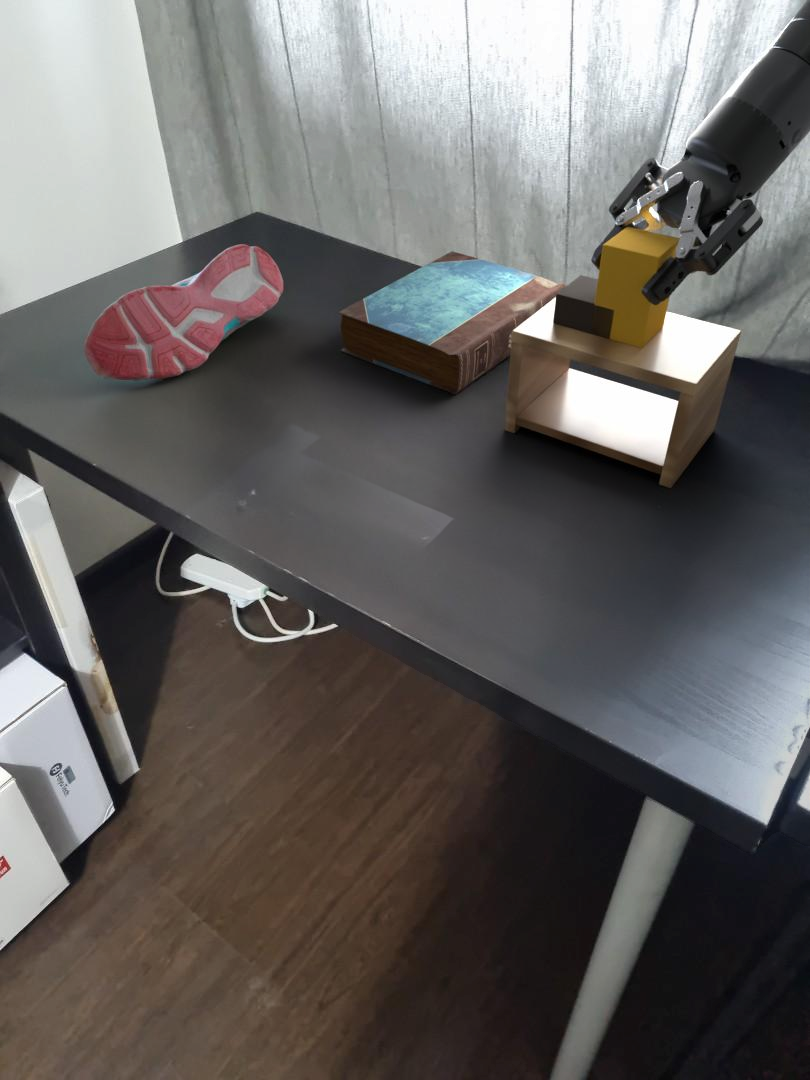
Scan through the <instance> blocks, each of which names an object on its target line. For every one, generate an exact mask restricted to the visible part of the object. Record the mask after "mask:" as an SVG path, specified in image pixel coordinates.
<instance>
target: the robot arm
mask: <svg viewBox="0 0 810 1080" xmlns="http://www.w3.org/2000/svg"><path fill="white" fill-rule="evenodd" d="M809 133H810V0H805V1H804V3H803V5H802V6H801V8H800V9H799V10H798V11H797V12H796V14H795V15H794V16H793V18H792V19H791V20H790V22H788V24H787V25H786V26H785V27H784V29H783V30H782V31H781V32H780V33H779V35H777V37H776V38H775V39H774V41H773V42H772V43H770V45H769V46H768V48H767V49H766V50H765V51H764V52H763V53H762V55H760V57H758V59H757V60H756V61H754V62H753V64H751V65H750V66H749V67H748V68H747V69H746V70H745V71H744V72H743V73H742V74H741V75H740V76H739V77H738V79H737V80H736V81H735V82H734V83H733V85H732V86H731V87H730V88H729V89H728V90H727V92H726V93H725V94H724V95H723V97H722V98H721V99H719V101H718V102H717V104H716V105H715V106H714V107H713V109H711V111H710V112H709V113H708V115H707V116H706V117H705V118H704V120H702V121H701V123H700V124H699V125H698V126H697V128H696V129H695V130H694V131H693V132H692V133H691V135H690V136H689V137H688V138H687V140H686V144H685V150H684V154H683V157H682V158H681V159H680V160H679V161H677V162H676V163H674V164H673V165H672V166H670V167H669V168H667V167H665V166H662V165H660V164H659V162H658V160H657V159H656V158H655V157H649V158H647V159H646V160H645V161H644V162H643V164H642V165H641V166H640V167H639V169H637V171H636V173H635V174H634V175H633V176H632V177H631V179H630V180H629V182H628V183H627V184H626V185H625V186H624V188H623V189H622V190H621V192H620V193H619V194H618V195H617V196H616V198H615V199H614V201H612V203H611V204H610V206H609V207H608V213H610V215H611V216H612V218H613V220H614V222H615V223H614V226H613V228H612V229H611V230H610V231H609V233H608V234H607V235H606V237H604V239H603V240H602V241H601V242H600V244H598V245H597V247H596V248H595V250H594V252H593V254H592V256H591V258H590V261H591V263H592V264H593V266H595V268H596V269H597V270H598V271H599V269H600V262H601V255H602V249H603V245H604V244H605V243H606V242H608V241H609V240H610V239H612V238H613V237H614V236H616V235H617V234H618V233H620V232H621V231H622V230H624V229H625V228H626V227H631V228H636V229H640V230H645V231H650V232H651V231H653V232H657V231H659V230H661V229H663V228H664V227H670V228H672V229H678V230H679V235H680V237H679V238H680V239H679V243H678V246H677V249H676V253H675V256H676V257H675V258H673V257H671V256H670V257H669V258H668V259H667V260H666V261H665V262H664V264H663V265H662V266H661V267H660V268H659V269H658V271H657V273H656V274H654V275H653V276H652V277H651V279H650V280H649V281H648V282H647V283H646V284H645V286H644V287H643V288H642V294H643V295H644V296H645V298H646V299H647V300H648V301H649V302H650V303H652V304H653V305H658V304H659V303H660V302H661V301H662V302H663V301H664V300H666V299H667V298H668V297H669V296H670V297H671V296H672V294H673V293H674V292H675V291H676V289H678V287H679V286H680V285H682V283H683V282H684V281H685V280H686V278H687V277H688V276H689V275H690V274H691V275H692V274H696V273H697V272H703V273H704V272H705V274H706V275H707V276H714V275H716V274H717V273H718V272H719V271H720V270H721V269H722V268H723V267H724V266H725V265H726V264H727V262H728V261H729V260H730V259H731V258H732V257H733V256H734V255H735V254H736V253H737V252H738V251H739V250H740V249H741V248H742V247H743V245H745V243H746V242H748V240H749V239H750V238H751V237H752V236H753V235H754V234H755V233H756V232H757V231H758V229H759V228H761V226H762V225H763V223H764V218H763V217H762V214H761V212H760V211H759V209H758V207H757V205H755V203H754V202H753V200H752V199H751V198H752V197H754V196H755V195H756V194H757V193H758V191H759V190H760V189H761V188H762V187H763V186H764V185H765V184H766V182H768V180H769V179H770V178H771V177H772V175H774V173H775V172H776V171H777V170H778V169H779V167H780V166H781V165H782V164H783V163H784V162H785V161H786V160H787V158H788V157H789V156H790V155H791V154H792V153H793V151H794V150H796V148H797V147H798V146H799V145H800V143H802V141H803V140H804V139H805V138H806V137H807V135H808V134H809ZM631 200H632V202H631V204H630V205H629V206H628V208H627V209H626V206H627V205H628V204H629V203H630V201H631ZM655 205H656V211H655V210H654V209H653V206H655ZM641 218H643V219H641ZM639 219H641V220H640V221H638V220H639ZM635 221H638V222H636V223H635ZM719 223H720V224H719ZM717 224H719V225H718V227H717ZM716 227H717V228H716ZM670 297H669V298H670Z"/></svg>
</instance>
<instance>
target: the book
mask: <svg viewBox="0 0 810 1080" xmlns="http://www.w3.org/2000/svg"><path fill="white" fill-rule="evenodd" d="M566 286H567V285H566V283H564V282H559V283H557V282H554V281H553V280H550V279H548V278H545V277H542V276H539V275H537V274H536V275H535V274H532V273H530V272H526V271H523V270H519V269H515V268H513V267H509V266H505V265H502V264H499V263H495V262H491V261H489V260H485V259H482V258H477V257H475V256H470V255H467V254H464V253H460V252H457V251H453V250H452V251H450V252H448V253H446V254H444V255H442V256H440V257H438V258H436V259H434V260H433V261H431V262H429V263H427V264H425V265H423V266H421V267H419V268H418V269H416V270H414V271H412V272H410V273H409V274H406V275H405V276H402V277H401V278H399V279H397V280H395V281H393V282H391V283H390V284H388V285H386V286H384V287H383V288H381V289H379V290H377V291H375V292H373V293H371V294H369V295H368V296H365V297H364V298H362V299H360V300H357V301H356V302H354V303H353V304H350V305H349V306H347V307H345V308H342V310H340V311H338V312H337V313H338V314H339V315H341V321H340V333H341V334H340V335H341V338H342V341H343V346H344V348H342V349H340V351H341V352H342V353H345V354H347V355H350V356H353V357H356V358H358V359H360V360H364V361H366V362H369V363H371V364H373V365H376V366H379V367H382V368H384V369H387V370H390V371H391V372H395V373H398V374H400V375H403V376H405V377H408V378H411V379H412V380H413V379H414V380H416V381H418V382H421V383H424V384H427V385H429V386H431V387H435V388H437V389H440V390H443V391H447V392H449V393H451V394H453V395H457V394H458V393H459V392H461V391H463V390H464V389H465V388H466V387H468V386H470V384H472V383H473V382H475V381H477V380H478V379H479V378H480V377H482V376H483V375H485V374H486V373H487V372H489V371H490V370H492V369H493V368H495V367H496V366H497V365H499V364H500V363H502V362H503V361H504V360H506V359H507V358H508V357H510V355H511V343H512V331H513V330H514V329H516V328H517V327H518V326H519V325H521V324H522V323H523V322H525V321H526V320H527V319H528V318H530V317H531V316H532V315H534V314H535V313H536V312H537V311H539V310H540V309H541V308H543V307H544V306H545V305H546V304H548V303H549V302H550V301H552V300H553V299H554V298H555V297H556V294H557V293H558V292H559V291H561V290H562V289H563V288H565V287H566Z"/></svg>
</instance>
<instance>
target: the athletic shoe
mask: <svg viewBox="0 0 810 1080" xmlns="http://www.w3.org/2000/svg"><path fill="white" fill-rule="evenodd" d="M283 292H284V280H283V276H282V274H281V271H280V268H279V266H278V264H277V263H276V262H275V260H274V259H273V258H272V257H271V255H270V254H269V253H268V252H266V251H265V250H264V249H262V248H261V247H259V246H257V245H253V246H250V245H248V244H243V243H241V244H236V245H233V246H229V247H227V248H225V249H224V250H223V251H222V252H220V253H219V254H218V255H216V256H215V257H214V258H213V259H211V260H210V262H209V263H208V264H207V265H205V267H204V268H203V269H202V270H201V271H200V272H199V273H196V274H194V275H192V276H190V277H188V278H185V279H183V280H180V281H178V282H176V283H174V284H172V285H162V284H158V285H156V284H155V285H148V286H144V287H141V288H137V289H134V290H131V291H130V292H126V293H124V294H123V295H122V296H120V297H118V298H117V300H115V301H114V302H112V303H111V304H110V305H108V306H107V307H106V308H105V309H104V310H103V311H102V312H101V313H100V314H99V316H97V318H96V319H95V320H94V321H93V323H92V324H91V326H90V329H89V331H88V333H87V336H86V340H85V342H84V347H83V352H84V355H85V358H86V362H87V363H88V364H89V365H90V367H91V368H92V370H93V372H94V373H95V374H96V375H97V376H98V377H99V378H101V379H104V380H106V379H109V380H110V379H112V380H119V381H133V382H136V381H137V382H139V381H148V380H163V379H169V378H172V377H177V376H180V375H181V374H183V373H185V372H190V371H193V370H195V369H197V368H199V367H201V365H203V364H204V363H205V362H206V361H207V360H208V359H209V356H210V355H211V354H212V353H213V352H214V351H215V350H216V348H218V347H219V345H220V343H221V342H223V341H224V340H225V339H227V338H228V337H229V336H230V335H231V334H232V333H234V332H235V331H237V329H239V328H242V327H244V326H245V325H247V324H248V323H250V322H252V321H254V320H256V319H257V318H260V317H262V316H263V315H264V314H265V313H266V312H268V311H269V310H271V309H272V308H273V307H275V306H276V305H277V303H279V299H280V297H281V296H282V294H283Z"/></svg>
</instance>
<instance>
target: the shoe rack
mask: <svg viewBox="0 0 810 1080" xmlns="http://www.w3.org/2000/svg"><path fill="white" fill-rule="evenodd" d="M555 301H556V297H555V298H554V299H553V300H552V301H550V302H549V303H548V304H546V305H545V306H544V307H543V308H541V309H540V310H539V311H537V312H536V313H535V314H534V315H532V316H531V317H530V318H528V319H527V320H526V321H525V322H523V323H522V324H521V325H519V326H518V327H517V328H516V329H514V330H513V331H512V343H511V355H510V356H509V367H508V369H509V370H508V382H507V394H506V407H505V422H504V431H506V432H509V433H512V434H515V433H517V432H518V431H519V430H520V429H521V428H524V429H527V430H530V431H534V432H536V433H539V434H542V435H545V436H547V437H550V438H554V439H557V440H560V441H562V442H565V443H568V444H571V445H574V446H576V447H580V448H583V449H586V450H588V451H591V452H594V453H597V454H600V455H602V456H606V457H608V458H611V459H614V460H617V461H620V462H623V463H625V464H629V465H632V466H634V467H636V468H640V469H643V470H646V471H649V472H651V473H654V474H657V475H660V478H659V482H658V484H659V485H660V486H662V487H665V488H669V489H672V487H674V485H675V483H676V482H677V481H678V480H679V478H680V476H681V475H682V474H683V472H685V470H686V469H687V467H688V466H689V464H690V463H691V462H692V461H693V459H694V458H695V457H696V455H697V454H698V452H699V451H700V450H701V448H703V446H704V445H705V443H706V442H707V441H708V439H709V438H710V437H711V435H712V434H713V433H714V431H715V429H716V426H717V422H718V418H719V415H720V411H721V406H722V404H723V399H724V396H725V392H726V389H727V386H728V382H729V378H730V375H731V371H732V366H733V363H734V360H735V355H736V352H737V349H738V345H739V341H740V338H741V333H742V330H740V329H736V328H733V327H728V326H725V325H721V324H717V323H712V322H709V321H705V320H701V319H698V318H693V317H689V316H686V315H681V314H678V313H674V312H670V311H667V312H666V317H665V321H664V326H663V327H662V328H661V329H660V330H659V331H658V332H657V333H656V334H655V335H654V336H653V337H652V338H651V339H650V340H649V341H648V342H647V343H646V344H645V345H644V346H643V347H642V348H640V347H636V346H632V345H629V344H625V343H622V342H618V341H615V340H611V339H608V338H604V337H600V336H597V335H593V334H590V333H586V332H583V331H579V330H576V329H572V328H569V327H565V326H562V325H558V324H554V323H553V319H554V310H555ZM571 361H574V362H578V363H580V364H584V365H588V366H591V367H594V368H598V369H602V370H605V371H608V372H612V373H615V374H618V375H621V376H623V377H628V378H631V379H635V380H638V381H642V382H645V383H649V384H651V385H655V386H659V387H661V388H665V389H669V390H671V391H675V392H679V397H678V400H676V399H673V398H670V397H666V396H664V395H663V396H662V395H660V394H656V393H653V392H650V391H647V390H643V389H640V388H638V387H637V388H636V387H634V386H630V385H627V384H624V383H620V382H617V381H613V380H610V379H606V378H605V377H600V376H597V375H593V374H590V373H587V372H583V371H580V370H577V369H573V368H570V363H571Z"/></svg>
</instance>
